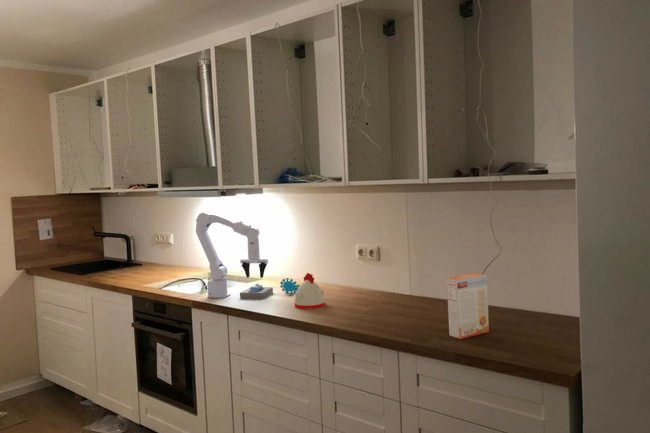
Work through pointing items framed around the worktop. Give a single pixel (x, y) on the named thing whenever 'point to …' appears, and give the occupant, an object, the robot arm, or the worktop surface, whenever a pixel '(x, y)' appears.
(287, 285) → the gear
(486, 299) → the cracker box
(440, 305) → the worktop surface
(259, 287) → the servo
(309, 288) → the white and red dome
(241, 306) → the worktop surface
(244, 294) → the chassis
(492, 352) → the worktop surface
